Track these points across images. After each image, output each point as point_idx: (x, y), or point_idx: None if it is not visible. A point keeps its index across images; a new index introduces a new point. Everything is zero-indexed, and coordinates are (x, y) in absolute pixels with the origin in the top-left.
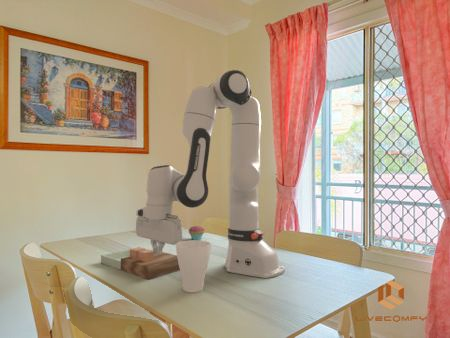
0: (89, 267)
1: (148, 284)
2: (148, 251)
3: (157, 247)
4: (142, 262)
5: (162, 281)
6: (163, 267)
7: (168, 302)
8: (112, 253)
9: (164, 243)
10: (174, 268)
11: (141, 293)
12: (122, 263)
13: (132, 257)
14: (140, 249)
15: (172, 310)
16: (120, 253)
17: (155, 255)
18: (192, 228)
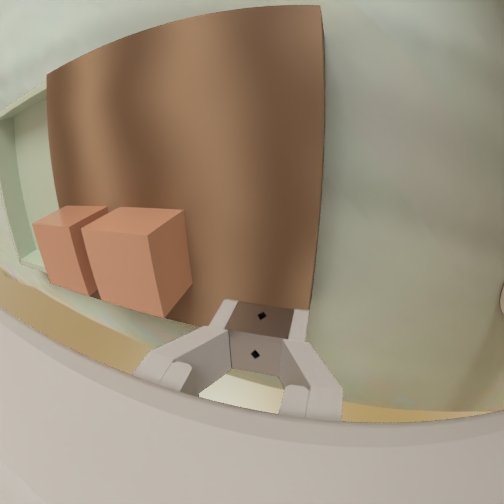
0: (61, 295)
1: (354, 340)
2: (134, 272)
3: (226, 334)
4: (193, 299)
5: (386, 288)
6: (317, 229)
7: (483, 385)
8: (10, 226)
9: (339, 402)
10: (324, 120)
11: (386, 392)
12: None
13: None
14: (71, 259)
15: (499, 398)
16: (7, 190)
17: (110, 136)
18: None
